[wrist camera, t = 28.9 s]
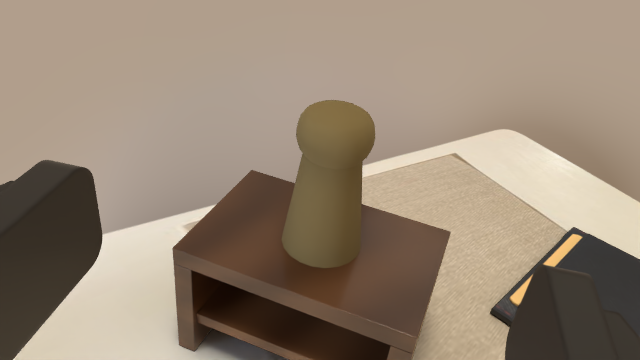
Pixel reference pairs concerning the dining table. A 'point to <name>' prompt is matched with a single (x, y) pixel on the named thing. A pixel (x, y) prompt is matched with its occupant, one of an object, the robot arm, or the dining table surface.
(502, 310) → the wallet
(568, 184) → the dining table surface
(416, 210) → the dining table surface
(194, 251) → the shelf
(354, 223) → the cork
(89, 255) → the robot arm
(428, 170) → the dining table surface
